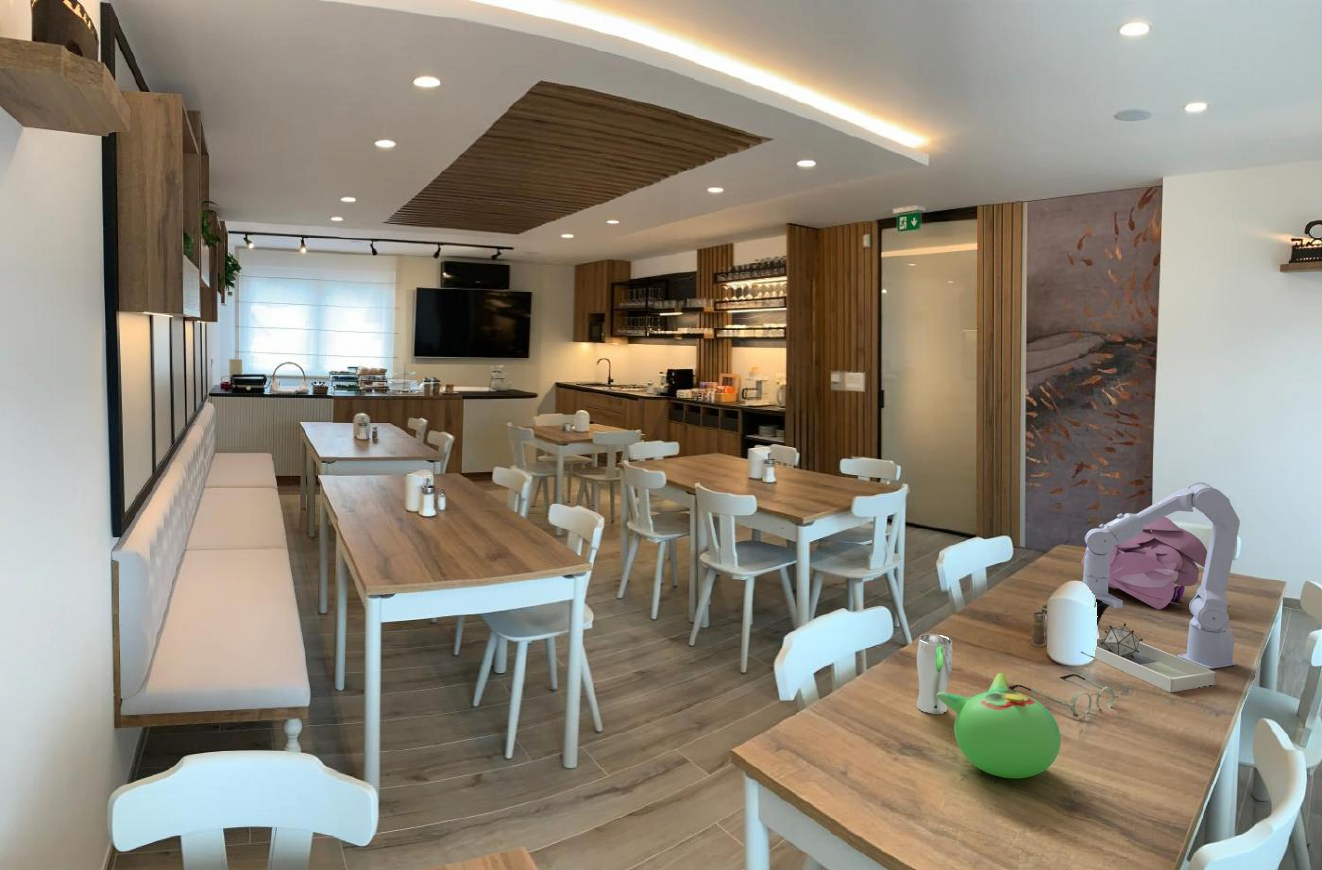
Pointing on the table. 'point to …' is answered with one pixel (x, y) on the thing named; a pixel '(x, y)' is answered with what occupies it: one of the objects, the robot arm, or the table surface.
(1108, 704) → the eyeglasses
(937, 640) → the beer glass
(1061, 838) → the table surface
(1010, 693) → the green squishy toy
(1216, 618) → the robot arm
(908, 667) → the table surface
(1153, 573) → the pink rounded layered piece
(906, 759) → the table surface
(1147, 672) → the shallow open box
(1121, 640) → the game die
